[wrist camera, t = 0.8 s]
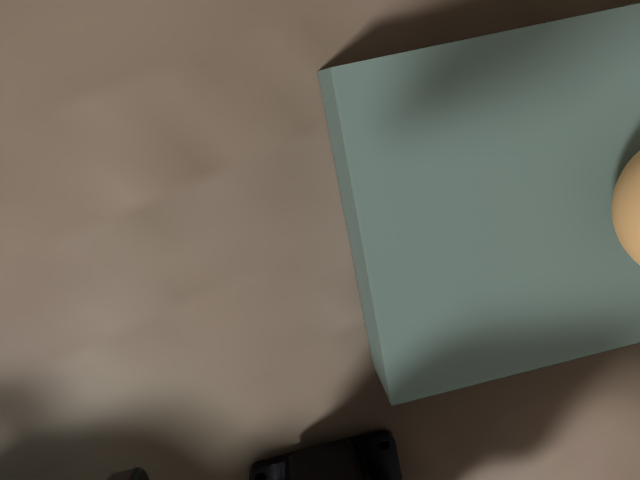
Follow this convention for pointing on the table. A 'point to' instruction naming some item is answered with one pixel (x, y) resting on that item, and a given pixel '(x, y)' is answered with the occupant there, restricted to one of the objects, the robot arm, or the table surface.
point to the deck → (490, 199)
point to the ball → (628, 208)
